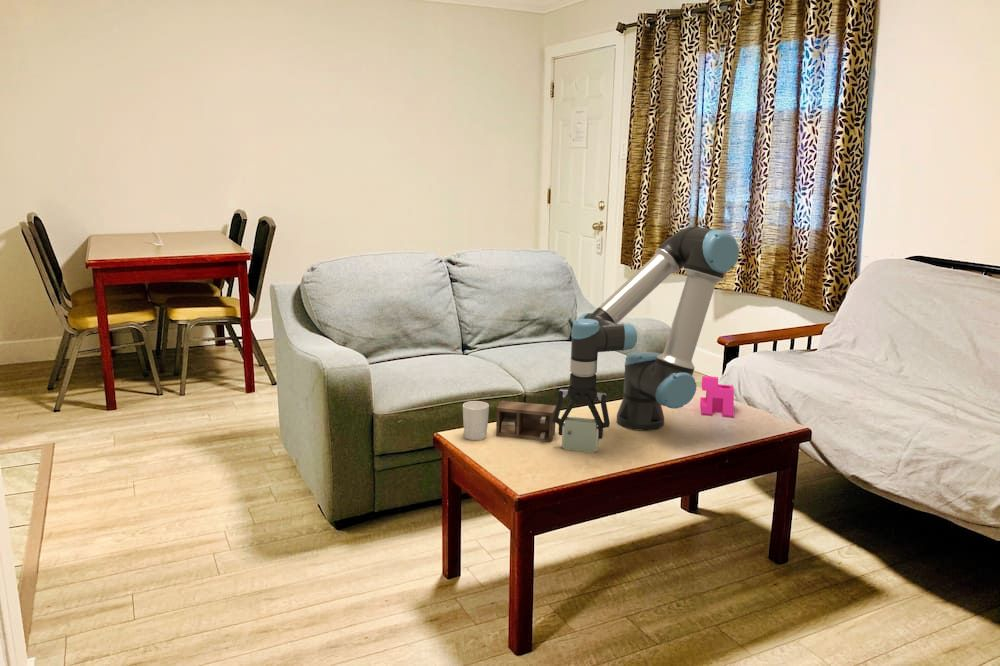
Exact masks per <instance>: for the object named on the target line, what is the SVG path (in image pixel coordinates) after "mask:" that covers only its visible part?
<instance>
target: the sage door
mask: <svg viewBox="0 0 1000 666" xmlns="http://www.w3.org/2000/svg"><path fill="white" fill-rule="evenodd" d="M564 423H565V432H564V447H563V450H565V451H574V452H575V451H576V452H585V453H593V454H594V453H595V452H596V451H595V439H596V428H597V426H598V425H597V423H596V421H595V419H594V418H588V417H587V418H586V417H576V416H567V418H566V420H565V421H564Z"/></svg>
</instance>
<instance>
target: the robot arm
mask: <svg viewBox="0 0 1000 666" xmlns="http://www.w3.org/2000/svg"><path fill="white" fill-rule="evenodd" d="M654 253H655V254H654V255H653V256H652V257H651V258H650V259H649V260H648V261H647V262H645V263H644V265H643V266H642V267H640V268H639V269H638V270H637V271H636V272H634V274H633V275H632V276H631V277H630V278H628V279H627V280H626V281H625V282H624V283H623V284H622V285H621V286H620V287H618V289H617V290H615V291H614V292H613V293H612V295H610V296H609V297H608V298H607V299H606V300H605V301H604V302H603V303H602V304H601V305H599V307H597V308H596V309H595V310H594V311H593V312H585V313H583V314H582V315H580V316H578V317H579V318H578V319H575V320H574V321H573V323H572V328H571V335H570V336H571V342H570V343H571V348H570V351H571V353H570V369H569V371H570V372H571V373H570V374H569V388H567V389H563V388H560V389H559V390H558V392H557V393H558V401H557V404H556V410H555V414H554V417H553V422H554V423H555V424H557V425H558V435H559V436H561V448H564V432H565V420H566V418H567V417H569V415H570V412H571V411H572V410H573V409H574V407H575V405H576V406H581V405H582V406H587V407H588V409H590V410H589V411H590V412H591V415H592V417H593V419H595V421H596V423H597V428H596V439H595V452H597V451H599V444H600V443H599V442H600V440H602V439H603V436H604V429H606V428H607V429H608V428H609V427H610V424H611V421H610V417H609V412H608V406H607V395H608V394H607V393H606V392H598V391H597V370H598V355H599V353H604V352H605V353H606V352H617V351H622V352H624V351H627V350H632V349H634V348H635V347H636V345H637V341H638V332H637V329H636V327H635V326H634V325H633V324H630V323H619V322H621V321H622V320H623V319H624V318H625V317H626V316H627V315H628V314H630V312H631V311H632V310H633V309H635V308H636V307H637V306H638V305H639V304H640V303H641V302H642V301H643V300H644V299H645V298H646V297H648V296H649V295H650V294H651V293H652V292H653V291H654V290H655V289H656V288H657V287H658V286H659V285H661V283H662V282H664V281H665V280H666V279H667V278H668V277H669V276H670V275H671V274H672V273H678V272H679V271H680V270H681V269H683V270H684V271H685V274H686V280H685V282H684V285H683V288H682V292H681V294H680V295H681V296H680V299H679V302H678V305H677V308H676V311H675V314H674V316H673V317H674V318H673V321H672V323H671V328H670V330H669V334H668V336H667V339H666V342H665V346H664V349H663V352H662V353H660V352H653V351H640V352H632V353H629V354H627V355H626V357H625V362H624V377H623V378H624V379H623V381H624V382H623V397H622V400H621V402H620V406H619V408H618V411H617V413H616V420H615V421H616V423H617V424H618V425H619V426H621V427H624V428H626V429H629V430H634V431H635V430H636V431H655V430H658V429H659V430H660V429H662V428H663V427H664V426H665V415H664V411H663V407H666V408H669V409H673V410H674V409H680V408H681V409H682V408H683V407H685V406H686V405H688V404H689V403H690V402H691V401H692V400H693V398H694V397H695V395H696V391H697V382H696V379H695V377H694V376H693V374H694V371H695V366H694V363H693V361H692V360H693V357H694V354H695V351H696V348H697V345H698V341H699V339H700V334H701V333H702V332H701V331H702V329H703V325H704V323H705V319H706V316H707V313H708V311H709V310H708V309H709V306H710V303H711V300H712V297H713V294H714V290H715V287H716V285H717V284H718V283H720V282H722V281H723V280H724V277H725V274H726V273H727V272H729V271H731V270H732V269H734V267H735V266H736V265H737V263H738V260H739V257H740V248H739V244H738V243H737V240H736V238H735V236H733V235H732V234H730V233H729V232H726V231H724V230H721V229H716V228H707V227H701V226H688V227H685V228H683V229H681V230H679V231H677V232H676V233H674V234H673V235H671V236H670V237H668V238H667V239H666V240H665V241H664V242H662V243H661V244H660V245H659V246H658V247H657V248H656V249H655V252H654ZM567 395H568V396H569V398H570V399H571V401H570V402H569V404H568V405H567V408H566V409H565V411H564V413H563V414H562V416H561V418H559V416H560V413H561V410H562V406H563V403H564V399H565V398H566V397H567ZM596 398H598V401H600V407H601V412H602V418H603V421H602V418H601V416H600V414H599V411H598V409H597V407H596V405H595V402H594V400H595V399H596ZM662 406H663V407H662Z"/></svg>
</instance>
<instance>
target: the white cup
mask: <svg viewBox="0 0 1000 666" xmlns="http://www.w3.org/2000/svg"><path fill="white" fill-rule="evenodd" d="M489 408H490V405H489V403H487V402H485V401H480V400H472V401H471V400H470V401H465V402H464V403H463V404H462V420H463V432H464V433H463V436H464V438H465V439H467V440H470V441H481V440H484V439H486V438H487V435H488V426H489V424H488V423H489V411H490V409H489Z"/></svg>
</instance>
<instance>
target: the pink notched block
mask: <svg viewBox="0 0 1000 666" xmlns="http://www.w3.org/2000/svg"><path fill="white" fill-rule="evenodd" d="M701 376H702V377H701V390H702V391H704V392H705V397H702V396H701V397H700V400H699V401H700V402H699V405H700V406H699V407H700V415H701V416H707V417H713V413H717V414H718V413H721V416H722V418H729V419H730V418H731V419H734V415H735V414H734V413H735V411H734V408H735V407H734V406H735V405H734V403H735V401H734V400H735V399H734V398H735V397H734V396H735V395H734V394H735V390H734V385H729V384H722V383H721V384H720V383H719V377H718V376H709V375H701Z"/></svg>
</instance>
